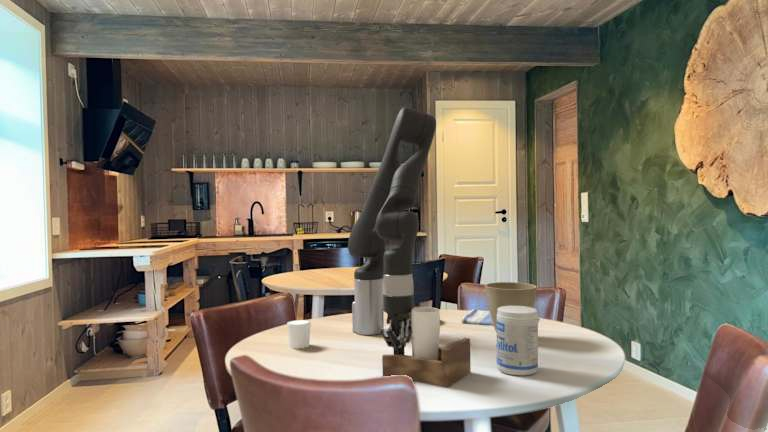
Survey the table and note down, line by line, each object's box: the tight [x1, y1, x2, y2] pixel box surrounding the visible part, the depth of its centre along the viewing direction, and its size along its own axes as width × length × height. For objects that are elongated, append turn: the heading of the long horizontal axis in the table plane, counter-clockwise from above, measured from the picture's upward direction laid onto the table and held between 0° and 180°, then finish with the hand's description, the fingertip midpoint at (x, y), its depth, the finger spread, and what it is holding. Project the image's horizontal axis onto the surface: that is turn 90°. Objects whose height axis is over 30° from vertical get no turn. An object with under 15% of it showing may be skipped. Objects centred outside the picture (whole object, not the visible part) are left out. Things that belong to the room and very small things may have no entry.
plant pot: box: [484, 281, 537, 334], centre depth 147 cm, size 15×15×16 cm
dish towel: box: [461, 308, 494, 327], centre depth 172 cm, size 17×24×3 cm
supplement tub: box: [496, 306, 539, 377], centre depth 117 cm, size 10×10×15 cm
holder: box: [381, 337, 471, 388], centre depth 116 cm, size 16×16×8 cm
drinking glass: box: [411, 306, 441, 360], centre depth 117 cm, size 7×7×15 cm
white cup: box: [286, 319, 312, 350], centre depth 143 cm, size 7×7×7 cm
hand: (399, 362), depth 121 cm, fingers closed
